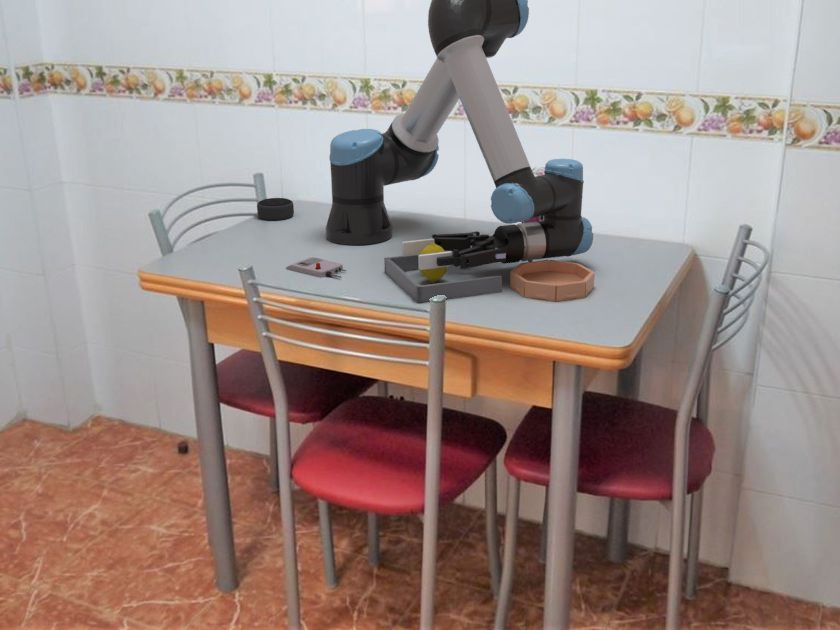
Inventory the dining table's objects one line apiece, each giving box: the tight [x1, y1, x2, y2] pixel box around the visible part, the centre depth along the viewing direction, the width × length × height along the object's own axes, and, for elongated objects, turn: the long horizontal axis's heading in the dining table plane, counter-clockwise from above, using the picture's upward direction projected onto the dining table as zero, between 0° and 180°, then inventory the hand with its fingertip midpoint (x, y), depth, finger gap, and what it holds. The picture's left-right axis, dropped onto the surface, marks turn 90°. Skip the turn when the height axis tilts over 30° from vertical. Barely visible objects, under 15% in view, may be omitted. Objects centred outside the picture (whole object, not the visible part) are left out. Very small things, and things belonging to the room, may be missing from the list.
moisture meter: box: [285, 256, 347, 279], centre depth 189 cm, size 7×16×3 cm, turn 53°
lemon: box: [419, 243, 448, 284], centre depth 179 cm, size 6×6×8 cm
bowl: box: [509, 259, 595, 302], centre depth 177 cm, size 15×15×3 cm
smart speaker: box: [256, 197, 295, 221], centre depth 229 cm, size 9×9×4 cm
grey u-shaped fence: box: [383, 251, 503, 304], centre depth 181 cm, size 20×17×3 cm
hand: (410, 255), depth 177 cm, fingers open, 9 cm apart
